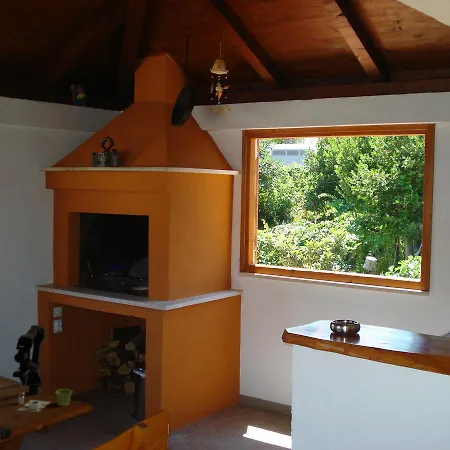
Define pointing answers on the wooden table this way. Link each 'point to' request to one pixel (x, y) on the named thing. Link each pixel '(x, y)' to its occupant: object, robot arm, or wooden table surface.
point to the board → (26, 408)
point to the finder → (35, 405)
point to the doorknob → (21, 397)
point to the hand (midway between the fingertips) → (24, 385)
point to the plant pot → (63, 397)
